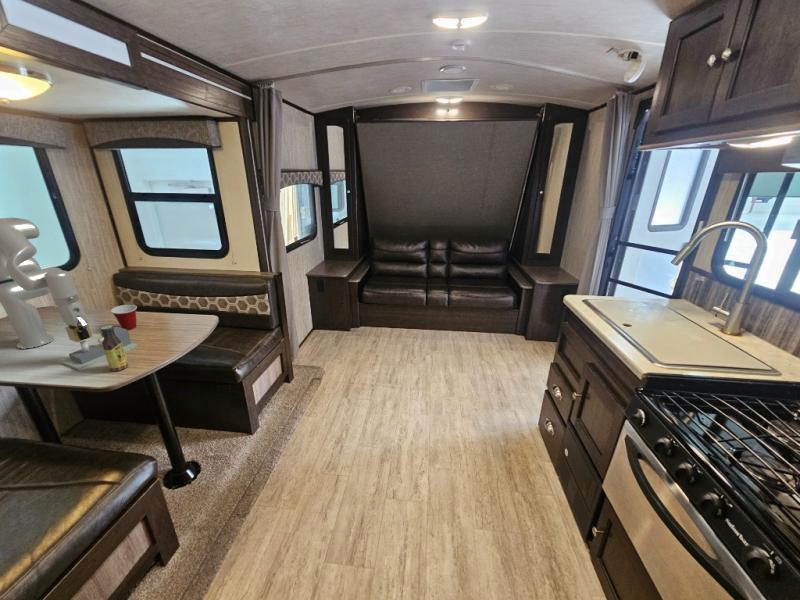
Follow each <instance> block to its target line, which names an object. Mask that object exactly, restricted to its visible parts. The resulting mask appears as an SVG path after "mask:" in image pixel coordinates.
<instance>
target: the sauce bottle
mask: <svg viewBox="0 0 800 600" xmlns="http://www.w3.org/2000/svg"><path fill="white" fill-rule="evenodd" d="M100 332H102V333H103V337H104V340H103V342H102V343H101V345H103V348H104V352H105V355H106V358H107V359H106V361H107V364H108V366H109V368H110V370H111V371H112V372H119V371H124V370H125V369H127V368H128V367H129V361H128V357H127V354H126V351H124V348H123V345H122V342H121V341H120V340H119V338H118V337H117V336H116V335H115V333H114V326H113V325H104V326H101V327H100Z"/></svg>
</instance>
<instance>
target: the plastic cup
mask: <svg viewBox="0 0 800 600" xmlns="http://www.w3.org/2000/svg"><path fill="white" fill-rule="evenodd" d="M137 308H138V306H137V305H135V304H123V305H117V306H114V307H113V308H112V309H110V313H112V314H113V315H114V317H115V318H116V321H117V322H118V325H120V326H121V327H120V328H123V329H126V330H127V331H131V330H135V329H136V328H137V326H138V325H137V313H136V312H137Z"/></svg>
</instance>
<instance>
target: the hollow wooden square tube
mask: <svg viewBox="0 0 800 600" xmlns="http://www.w3.org/2000/svg"><path fill="white" fill-rule="evenodd" d="M77 325H80V323H78V324H77ZM80 327H82V326H79V328H80ZM64 329H65V331H66V334H67V336H68V339H69V341H73V342H76V343H80V342H81V341H83V340H80V337H79V335H78V330H77V328H76V326H72V325H71V326H68V325H67V326H65V327H64ZM87 330H88V333H89V336H90V338H92V337H93V335H92V331H91V328H90V325H89V324H87ZM87 339H89V338H87ZM87 339H86V340H87Z"/></svg>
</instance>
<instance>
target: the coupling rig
mask: <svg viewBox="0 0 800 600" xmlns="http://www.w3.org/2000/svg"><path fill="white" fill-rule="evenodd" d="M113 328H114V333H115V335H116V336H117V337H118V338H119V340H120V341H121V342H122V345H123V348H124V351H125V352H127V351H129V350H132V349H134V348H137V347H138V345H137V344H136V343H133V342H132V341H131V338H130V335H129V332H128V331H129V330H126V329H123V328H122V327H119V326H115V327H114V326H113ZM100 337H101V338H99V339H97V342H98V343H99V344H101V345H99V346H97V345H95V344H92V345H90V346H89V344H88V341H87V340H82V341H79V344H80V347H81V349H78V350H75V351H74V352H71V353H69V354H68V356H69V357H67V358H64V359H62V360H60V362H61V364H63V365H65V366H67V367H70V368H72V369H74V370H76V371H79V372H80V371H83V370H85V369H87V368H89V367H92V366H94V365H96V364H99V363H103V362H104V361H107V358H106V355H105V352H104V348H103V345H102V342H103V340H104V337H103V333H102V332H101V331H100Z"/></svg>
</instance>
